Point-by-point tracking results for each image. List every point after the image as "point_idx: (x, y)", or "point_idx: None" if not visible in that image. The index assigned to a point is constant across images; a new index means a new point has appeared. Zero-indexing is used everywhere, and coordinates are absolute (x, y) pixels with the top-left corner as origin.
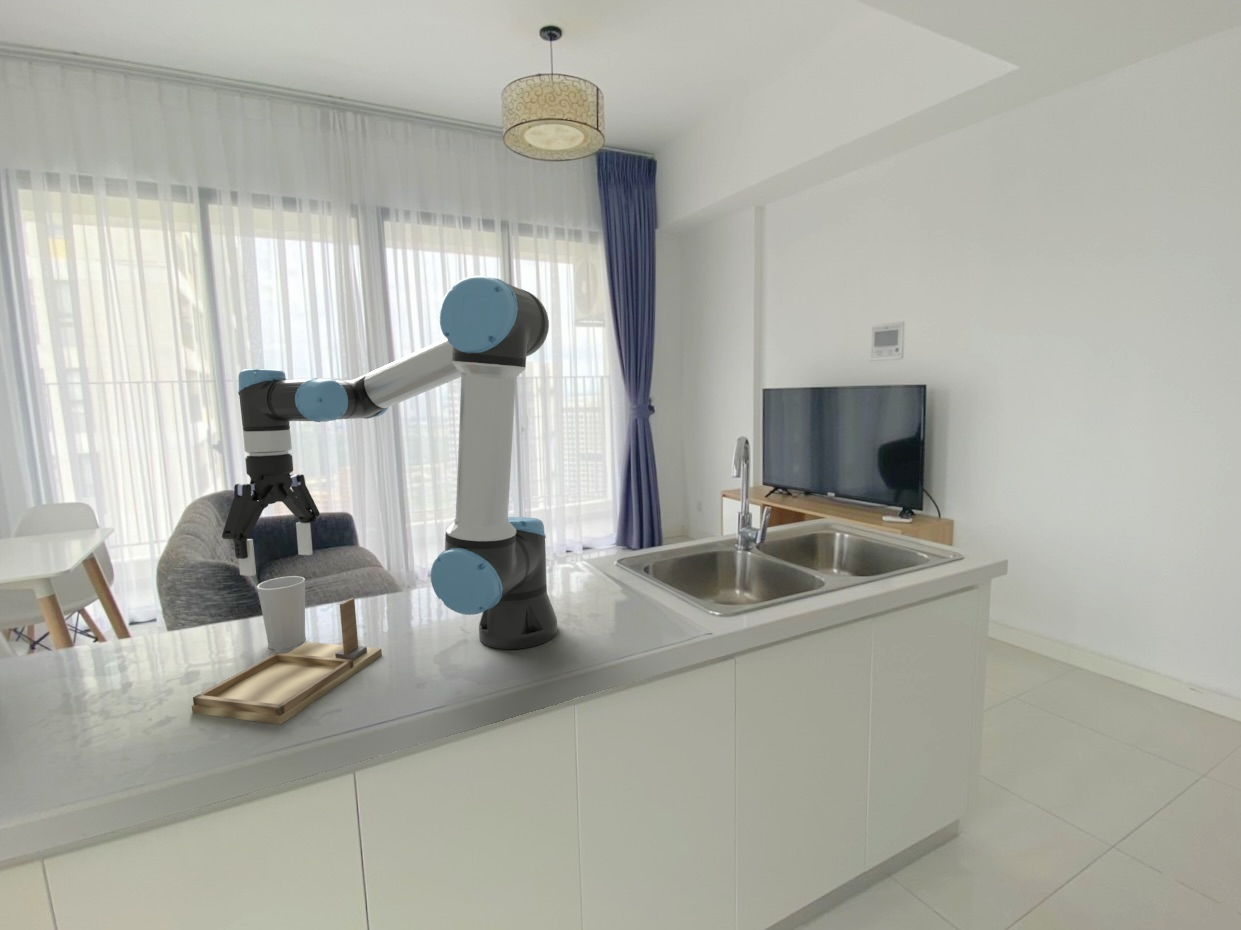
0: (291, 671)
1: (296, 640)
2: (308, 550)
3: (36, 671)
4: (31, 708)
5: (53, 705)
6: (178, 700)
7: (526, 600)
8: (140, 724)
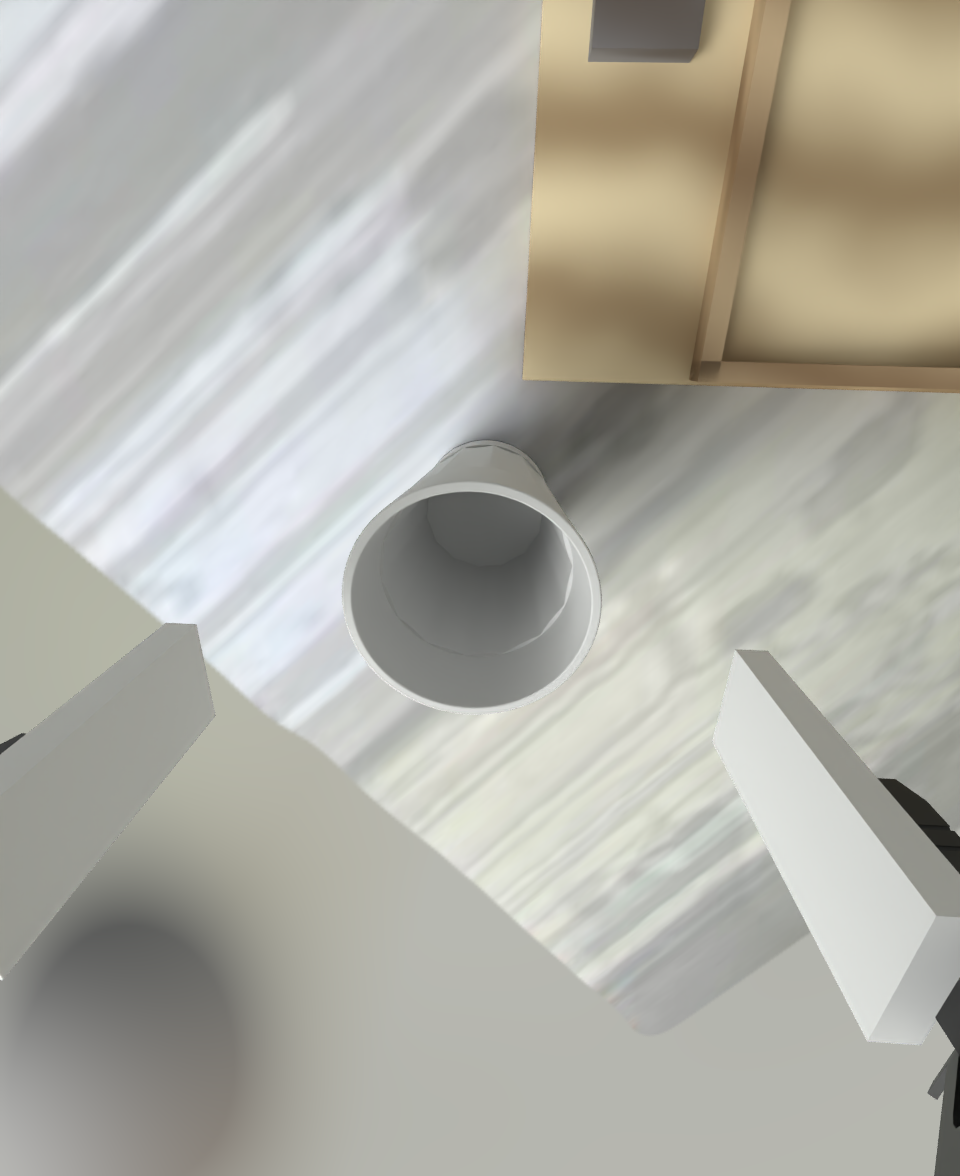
0: (812, 207)
1: (506, 446)
2: (174, 654)
3: (714, 962)
4: None
5: None
6: (927, 517)
7: None
8: None
